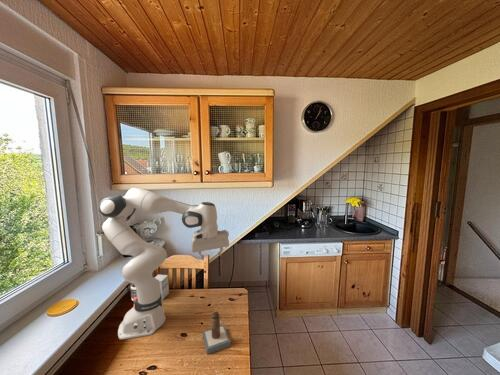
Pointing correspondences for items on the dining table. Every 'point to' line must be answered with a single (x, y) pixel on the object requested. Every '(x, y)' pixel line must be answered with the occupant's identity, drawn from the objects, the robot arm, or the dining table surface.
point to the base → (216, 340)
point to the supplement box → (163, 285)
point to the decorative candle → (133, 291)
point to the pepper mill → (215, 325)
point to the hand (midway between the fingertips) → (211, 256)
